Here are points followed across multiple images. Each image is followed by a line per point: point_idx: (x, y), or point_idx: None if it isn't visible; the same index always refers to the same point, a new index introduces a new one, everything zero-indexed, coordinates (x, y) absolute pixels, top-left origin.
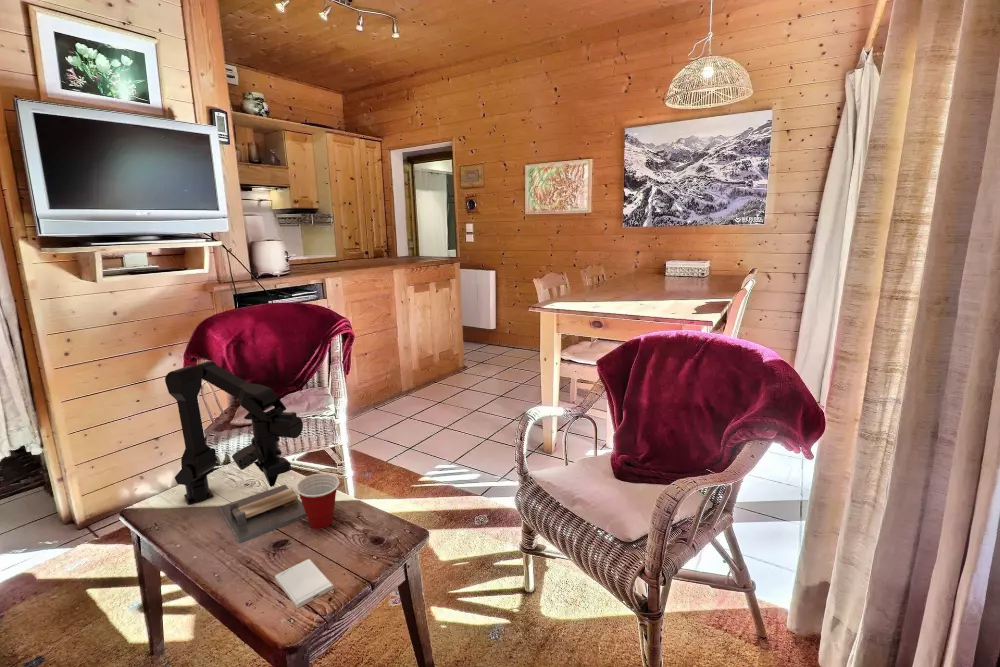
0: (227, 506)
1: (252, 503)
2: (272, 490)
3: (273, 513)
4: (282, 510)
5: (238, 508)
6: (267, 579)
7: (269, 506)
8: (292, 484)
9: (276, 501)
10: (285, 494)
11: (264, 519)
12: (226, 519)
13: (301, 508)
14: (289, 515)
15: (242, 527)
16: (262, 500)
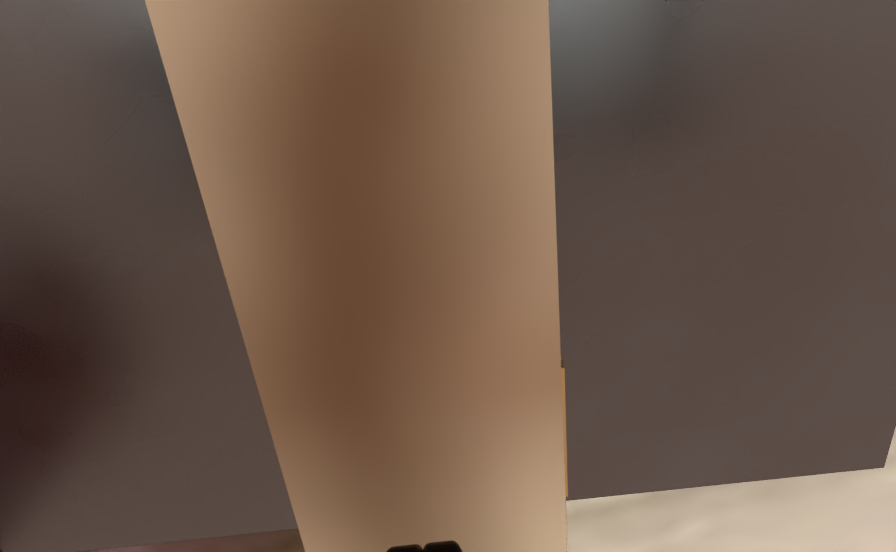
0: None
1: (502, 25)
2: (873, 329)
3: (172, 241)
4: (201, 347)
5: None
6: None
7: (228, 261)
8: (862, 497)
9: (293, 378)
10: (428, 500)
11: (39, 100)
12: None
13: (137, 513)
14: (13, 394)
15: None
16: (487, 205)
